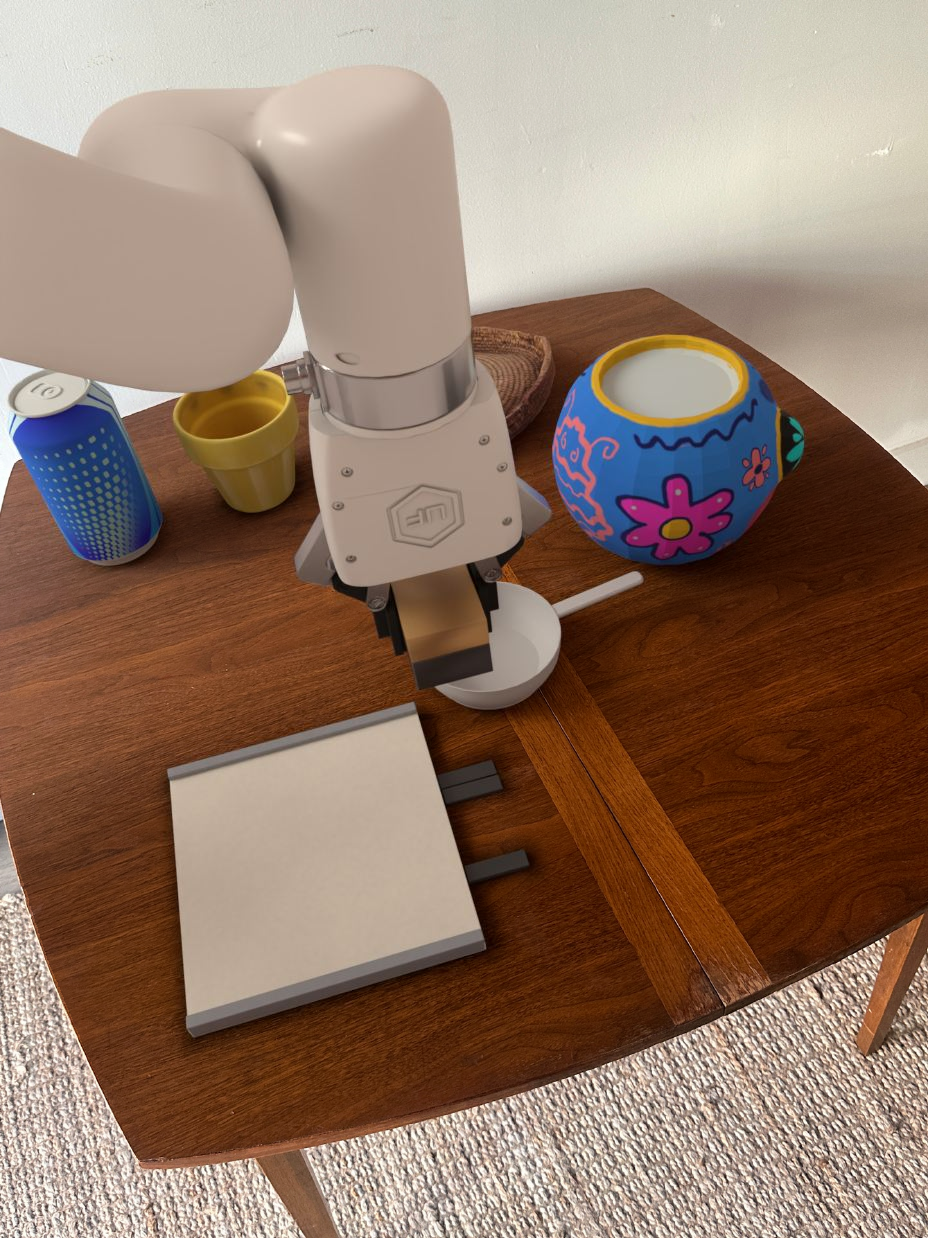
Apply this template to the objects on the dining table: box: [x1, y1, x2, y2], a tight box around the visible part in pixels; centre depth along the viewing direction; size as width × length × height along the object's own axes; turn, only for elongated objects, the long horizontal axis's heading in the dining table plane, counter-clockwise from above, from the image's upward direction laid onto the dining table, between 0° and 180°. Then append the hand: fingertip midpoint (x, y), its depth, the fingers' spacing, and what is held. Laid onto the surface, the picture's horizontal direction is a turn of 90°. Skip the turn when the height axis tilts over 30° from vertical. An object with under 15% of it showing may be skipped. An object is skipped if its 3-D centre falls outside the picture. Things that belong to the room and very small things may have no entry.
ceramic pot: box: [551, 334, 806, 566], centre depth 80 cm, size 18×18×15 cm
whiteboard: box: [167, 701, 487, 1038], centre depth 67 cm, size 18×19×1 cm
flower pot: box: [172, 368, 300, 514], centre depth 90 cm, size 10×10×10 cm
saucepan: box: [434, 570, 644, 711], centre depth 76 cm, size 11×18×4 cm, turn 112°
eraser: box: [390, 564, 493, 692], centre depth 60 cm, size 4×8×4 cm, turn 14°
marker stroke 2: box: [441, 774, 504, 807], centre depth 70 cm, size 4×1×1 cm, turn 104°
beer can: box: [6, 368, 163, 567], centre depth 85 cm, size 8×8×16 cm
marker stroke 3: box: [464, 848, 530, 885], centre depth 65 cm, size 4×1×1 cm, turn 104°
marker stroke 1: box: [436, 759, 498, 791], centre depth 71 cm, size 4×1×1 cm, turn 105°
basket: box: [472, 326, 556, 441], centre depth 97 cm, size 22×20×5 cm
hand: (438, 625), depth 61 cm, fingers closed on eraser, 4 cm apart
